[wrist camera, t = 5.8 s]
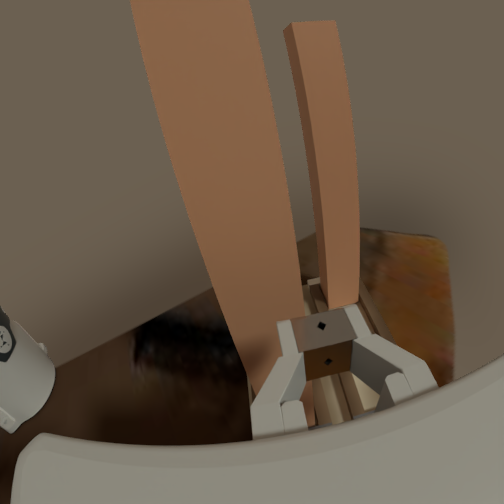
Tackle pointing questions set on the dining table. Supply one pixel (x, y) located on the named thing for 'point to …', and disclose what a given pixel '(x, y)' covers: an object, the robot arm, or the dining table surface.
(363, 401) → the divided tray
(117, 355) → the dining table surface
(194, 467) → the robot arm
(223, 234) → the tab
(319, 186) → the tan square post
